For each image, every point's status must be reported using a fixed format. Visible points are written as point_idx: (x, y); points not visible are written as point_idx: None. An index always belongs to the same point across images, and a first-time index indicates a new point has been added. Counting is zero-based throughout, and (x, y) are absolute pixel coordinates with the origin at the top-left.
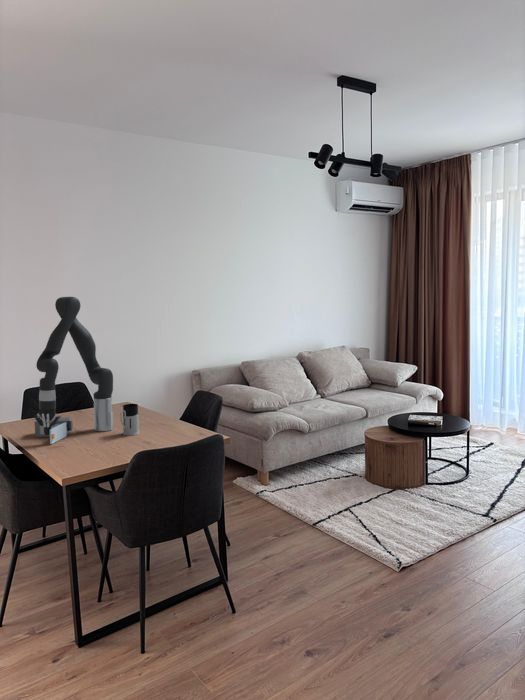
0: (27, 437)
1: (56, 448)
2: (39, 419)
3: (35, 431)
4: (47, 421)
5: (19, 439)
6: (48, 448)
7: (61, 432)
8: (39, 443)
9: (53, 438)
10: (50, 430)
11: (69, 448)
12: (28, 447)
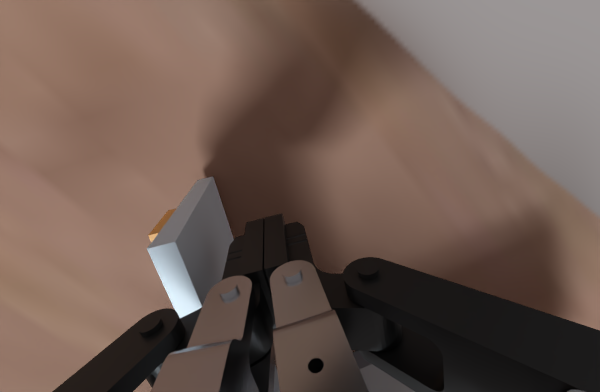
0: (527, 276)
1: (37, 82)
2: (478, 368)
3: None
4: (202, 364)
5: (558, 217)
6: (118, 55)
7: None
8: (338, 178)
9: (173, 211)
10: (164, 238)
11: None
12: (344, 25)
